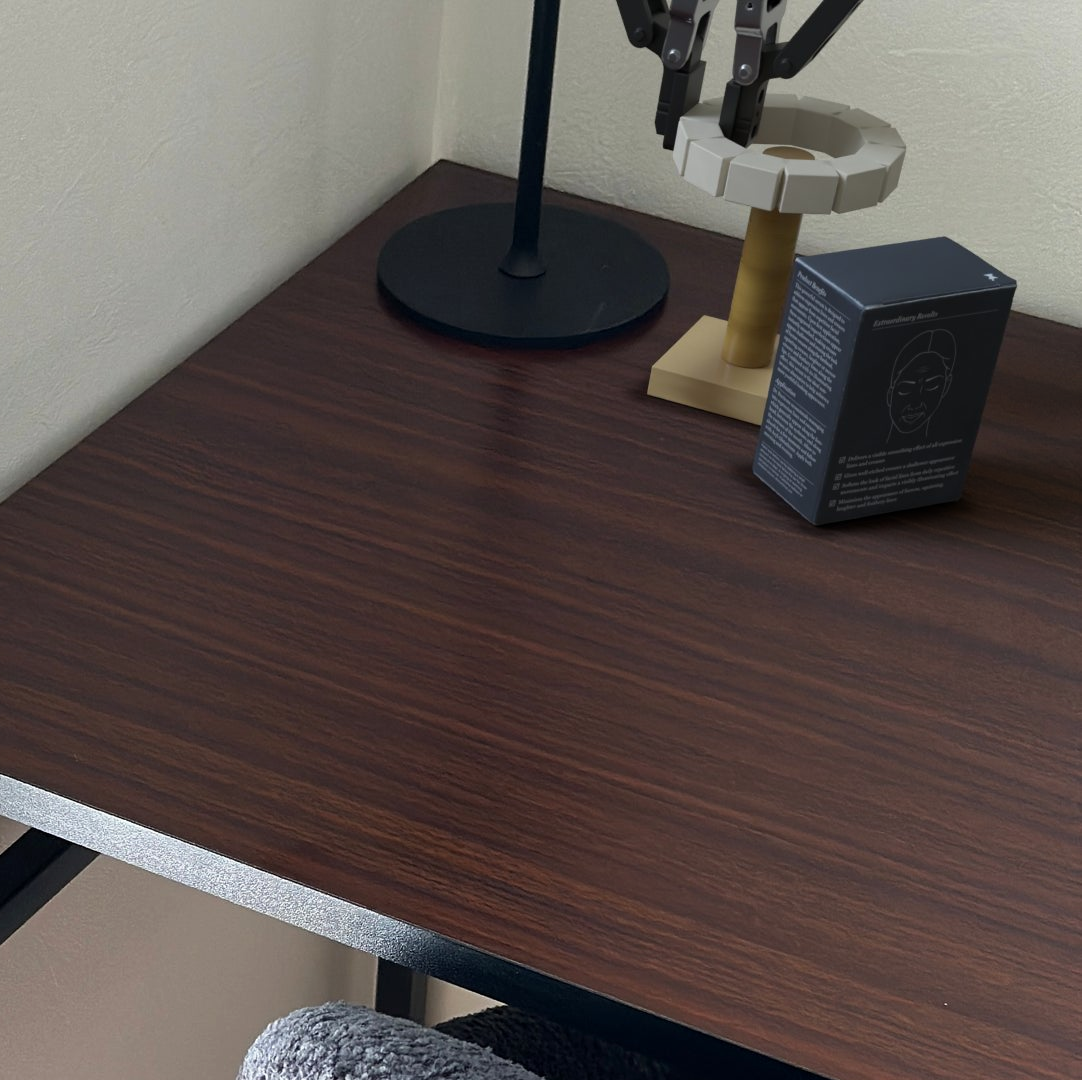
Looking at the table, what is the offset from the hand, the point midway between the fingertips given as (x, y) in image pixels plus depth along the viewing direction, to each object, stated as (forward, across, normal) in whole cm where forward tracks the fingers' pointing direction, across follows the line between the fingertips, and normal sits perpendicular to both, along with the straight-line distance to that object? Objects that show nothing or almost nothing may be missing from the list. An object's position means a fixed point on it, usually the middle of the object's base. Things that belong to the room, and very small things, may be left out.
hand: (701, 149), depth 111 cm
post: (+11, -4, 0) cm, 12 cm away
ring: (0, -4, 0) cm, 4 cm away
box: (+11, -12, +7) cm, 18 cm away
